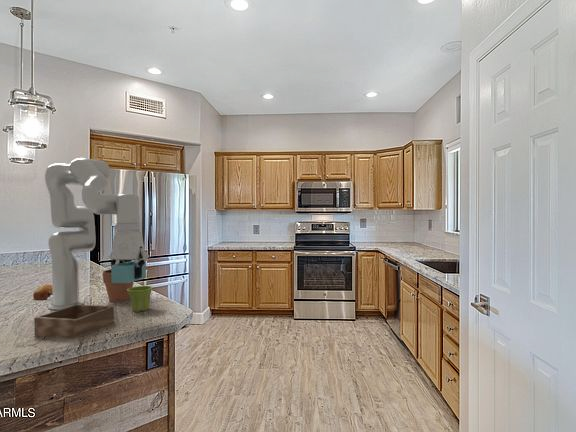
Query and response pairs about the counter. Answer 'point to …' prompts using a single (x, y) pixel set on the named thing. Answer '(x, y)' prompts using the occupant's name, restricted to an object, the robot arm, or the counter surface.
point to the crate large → (73, 321)
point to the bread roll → (43, 292)
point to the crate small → (126, 272)
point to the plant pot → (140, 297)
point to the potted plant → (116, 286)
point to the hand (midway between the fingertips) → (129, 277)
